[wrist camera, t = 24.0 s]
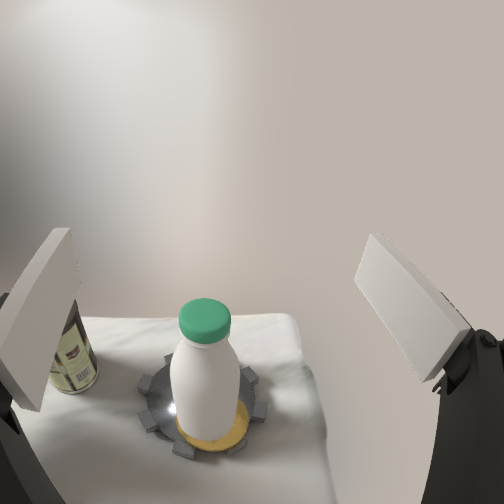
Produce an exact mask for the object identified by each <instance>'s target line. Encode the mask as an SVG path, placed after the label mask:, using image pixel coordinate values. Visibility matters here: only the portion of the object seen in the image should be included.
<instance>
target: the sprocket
mask: <svg viewBox="0 0 504 504" xmlns="http://www.w3.org/2000/svg"><path fill="white" fill-rule="evenodd" d="M173 354H174V353H172V354H170V355H167V356H164V359H165V363H166V366H165V367H163V368H162V369H161V370H160V371H159V372H158V373H157V374H156V375H155V376H154V377H153V376H150V375H146V374H143V376H142V378H141V380H140V382H139V384H138V386H137V388H138V391H139V393H142V394H145V395H147V402H148V407H149V410H147V411H144V412H141V413H139V414H138V417H139V419H140V421H141V423H142V425H143V427H144V429H145V430H146V432H147V434H148V433H150V432H153V431H155V430H158V429H159V430H160V431H161V432H162V433H163V434H164V435H165V436H166V437H168V438H169V439H171V440H172V441H174V442H175V444H174V447H173V450H172V451H173V453H174V454H176V455H179V456H183V457H186V458H190V459H194V456H195V453H196V449H200V450H203V451H208V452H219V451H224V450H225V451H226V452H227V453H228V455H231V454H233V453H235V452H237V451H239V450H240V449H242V448H244V447H246V445H247V442H246V441H245V439H244V438H243V437H244V436H245V434H246V431H247V428H248V425H249V423H250V421H256V422H262V423H264V420H265V415H266V409H267V403H266V402H260V401H255V396H254V392H253V389H252V386H253V385H255V384H257V383H258V380H259V377H258V376H257V375H256V374H255V373H254V372H253V370H252V369H251V368H250V367H249V366H248V367H246V368H244V369H242V370H240V386H239V394H238V402H237V409H236V415H235V421H234V425H233V427H232V429H231V430H230V432H229V433H228V434H227V435H225V436H224V437H222V438H220V439H217V440H213V441H201V440H197V439H194V438H192V437H190V436H189V435H187V434H186V433H185V432H184V431H183V430H182V428H181V427H180V425H179V422H178V419H177V414H176V409H175V404H174V399H173V393H172V387H171V379H170V365H171V360H172V357H173Z"/></svg>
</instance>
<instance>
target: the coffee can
mask: <svg viewBox="0 0 504 504" xmlns="http://www.w3.org/2000/svg"><path fill="white" fill-rule="evenodd" d="M98 373H99V365H98V361H97V359H96V358H95V355H94V353H93V350H92V348H91V345H90V343H89V340H88V337H87V335H86V332H85V329H84V326H83V323H82V320H81V318H80V315H79V312H78V306H77V302H76V300H74V302H73V305H72V307H71V310H70V313H69V315H68V318H67V321H66V323H65V326H64V329H63V332H62V335H61V338H60V341H59V344H58V347H57V350H56V353H55V356H54V359H53V363H52V366H51V369H50V373H49V377H48V378H49V380H50V382H51V384H52V385H53V386H54V387H55V388H56V389H57V390H58V391H60V392H63V393H67V394H76V393H80V392H83V391H85V390H86V389H88V388H89V387H91V386H92V385H93V383H94V382H95V381H96V379H97V377H98Z"/></svg>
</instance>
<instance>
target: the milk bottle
mask: <svg viewBox="0 0 504 504" xmlns="http://www.w3.org/2000/svg"><path fill="white" fill-rule="evenodd" d="M230 325H231V315H230V312H229V310H228V308H227V307H226V306H225V305H224V304H222V303H221V302H219V301H216V300H213V299H207V298H201V299H196V300H192V301H190V302H188V303H186V304H185V305H184V306H183V307H182V308H181V311H180V313H179V326H180V334H181V337H182V340H181V342H180V344H179V345H178V347H177V348H176V350H175V352H174V354H173V357H172V360H171V365H170V379H171V387H172V393H173V399H174V404H175V409H176V414H177V419H178V422H179V425H180V427H181V428H182V430H183V431H184V432H185V433H186V434H187V435H189V436H190V437H192V438H194V439H197V440H201V441H213V440H217V439H220V438H222V437H224V436H225V435H227V434H228V433H229V432H230V430H231V429H232V427H233V425H234V421H235V415H236V409H237V402H238V394H239V386H240V366H239V362H238V358H237V356H236V354H235V352H234V350H233V348H232V347H231V345H230V344H229V342H228V337H229V335H230Z"/></svg>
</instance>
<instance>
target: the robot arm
mask: <svg viewBox="0 0 504 504" xmlns="http://www.w3.org/2000/svg"><path fill="white" fill-rule="evenodd" d="M354 282H355V283H356V285H357V286H358V288H359V289H360V291H361V292H362V293H363V295H364V296H365V298H366V299H367V300H368V302H369V303H370V305H371V306H372V307H373V309H374V310H375V312H376V313H377V315H378V316H379V317H380V319H381V321H382V322H383V323H384V325H385V326H386V328H387V330H388V331H389V333H390V334H391V335H392V337H393V339H394V340H395V341H396V343H397V345H398V346H399V348H400V349H401V351H402V352H403V354H404V355H405V357H406V358H407V360H408V361H409V363H410V365H411V366H412V368H413V370H414V371H415V373H416V374H417V376H418V378H419V379H420V381H421V382H422V383H423V382H426V381H428V380H431V379H434V378H435V376H437V374H438V373H439V372H440V370H441V369H442V368H443V369H444V370H445V372H446V373H445V374H444V375H443V377H442V378H441V379H440V380H439V382H438V383H437V384H436V385H435V386H434V387H433V390H432V392H435V391H436V390H437V388H438V387H441V389H440V390H439V391H438V392H437V393H438V394H440V406H439V415H438V423H437V430H436V437H435V444H434V449H433V455H432V460H431V465H430V469H429V474H428V479H427V482H426V487H425V491H424V494H423V498H422V501H421V504H504V339H503V340H502V341H497V340H496V338H495V337H494V336H493V335H492V334H490V333H489V332H488V331H486V330H482V329H479V330H477V331H475V330H474V329H473V328H472V327H471V326H470V325H469V323H468V322H467V321H466V320H465V318H464V317H463V316H462V315H461V314H460V313H459V311H458V310H457V309H455V307H454V306H453V305H452V304H451V303H449V300H448V299H447V298H446V297H445V296H444V295H443V294H442V293H441V292H440V291H439V290H438V289H437V288H436V287H435V286H434V285H433V284H432V283H431V282H430V281H429V280H428V279H427V278H426V277H425V275H424V274H423V273H422V272H421V271H420V270H419V269H418V268H417V267H416V266H415V265H414V264H413V263H412V262H411V261H410V260H409V259H408V258H407V257H406V256H405V255H404V254H403V253H402V252H401V251H400V250H398V248H396V247H395V245H394V244H393V243H391V241H389V240H388V239H387V238H386V237H385V236H384V235H383V234H376V233H370V235H369V238H368V241H367V244H366V247H365V250H364V253H363V256H362V259H361V262H360V265H359V267H358V270H357V273H356V276H355V279H354ZM80 285H81V279H80V276H79V271H78V266H77V262H76V257H75V252H74V247H73V243H72V237H71V231H70V228H54V229H53V231H52V232H51V233H50V235H49V236H48V237H47V239H46V240H45V241H44V243H43V244H42V245H41V247H40V248H39V250H38V251H37V252H36V254H35V255H34V257H33V258H32V260H31V261H30V263H29V264H28V265H27V267H26V268H25V270H24V271H23V273H22V274H21V276H20V278H19V279H18V281H17V282H16V284H15V286H14V287H13V289H12V290H11V292H10V293H4V294H3V295H2V296H1V297H0V504H66V503H65V502H64V500H63V499H62V497H61V496H60V495H59V493H58V492H57V490H56V489H55V487H54V486H53V484H52V482H51V481H50V479H49V478H48V476H47V474H46V473H45V471H44V469H43V468H42V466H41V464H40V463H39V461H38V459H37V457H36V455H35V454H34V452H33V450H32V448H31V446H30V444H29V442H28V440H27V438H26V436H25V434H24V432H23V430H22V428H21V426H20V423H19V421H18V419H17V417H16V414H15V412H14V411H13V409H12V408H11V407H10V406H11V403H12V399H14V400H15V401H16V403H17V404H18V405H19V406H20V407H21V408H23V409H27V410H32V411H36V412H40V408H41V404H42V400H43V396H44V392H45V388H46V384H47V380H48V377H49V373H50V369H51V366H52V363H53V359H54V356H55V353H56V350H57V347H58V344H59V341H60V338H61V335H62V332H63V329H64V326H65V323H66V321H67V318H68V315H69V313H70V310H71V307H72V305H73V302H74V300H75V297H76V295H77V292H78V290H79V287H80Z"/></svg>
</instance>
